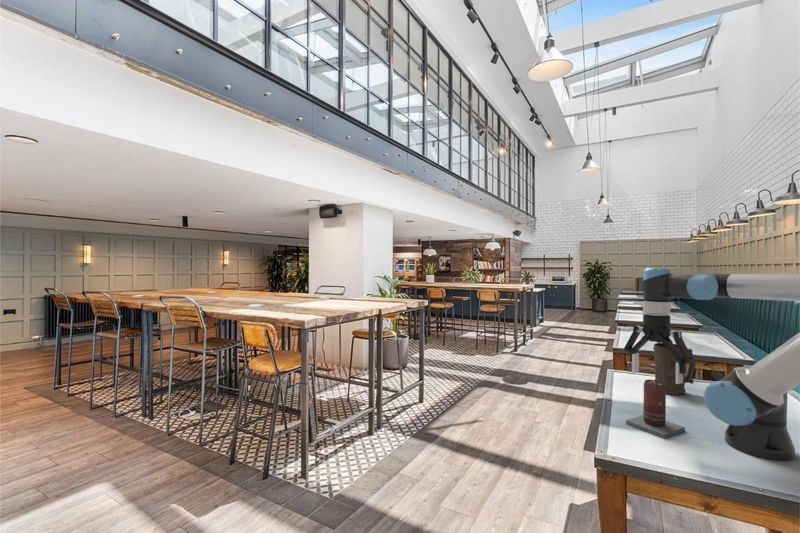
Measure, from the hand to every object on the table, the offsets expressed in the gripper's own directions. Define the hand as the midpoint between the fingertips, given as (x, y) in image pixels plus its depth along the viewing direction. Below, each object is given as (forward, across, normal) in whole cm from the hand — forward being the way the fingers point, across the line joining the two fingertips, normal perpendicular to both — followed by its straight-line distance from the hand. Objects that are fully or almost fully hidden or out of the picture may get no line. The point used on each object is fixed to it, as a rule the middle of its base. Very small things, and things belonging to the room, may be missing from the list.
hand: (656, 377), depth 124 cm
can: (+16, +1, 0) cm, 16 cm away
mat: (+17, 0, 0) cm, 17 cm away
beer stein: (+17, +16, -44) cm, 50 cm away
